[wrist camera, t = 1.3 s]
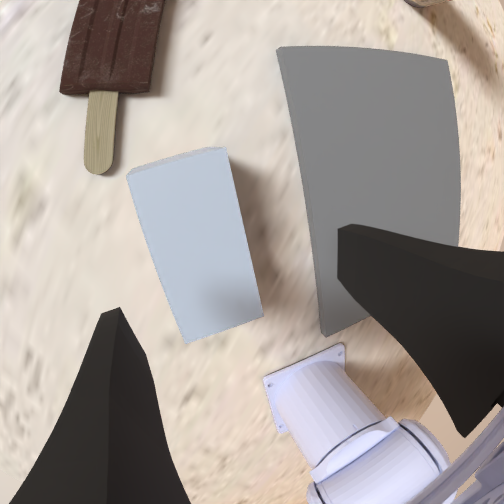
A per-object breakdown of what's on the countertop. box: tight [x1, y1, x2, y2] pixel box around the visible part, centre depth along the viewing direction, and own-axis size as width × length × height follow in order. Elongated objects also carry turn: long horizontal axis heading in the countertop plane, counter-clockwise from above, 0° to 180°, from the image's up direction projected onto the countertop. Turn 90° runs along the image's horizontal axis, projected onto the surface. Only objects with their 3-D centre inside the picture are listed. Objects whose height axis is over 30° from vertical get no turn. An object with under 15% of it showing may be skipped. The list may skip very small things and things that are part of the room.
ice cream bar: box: [60, 0, 165, 175], centre depth 13 cm, size 5×2×15 cm
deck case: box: [126, 147, 264, 344], centre depth 16 cm, size 9×4×5 cm, turn 12°
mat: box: [276, 46, 461, 337], centre depth 22 cm, size 22×18×1 cm
